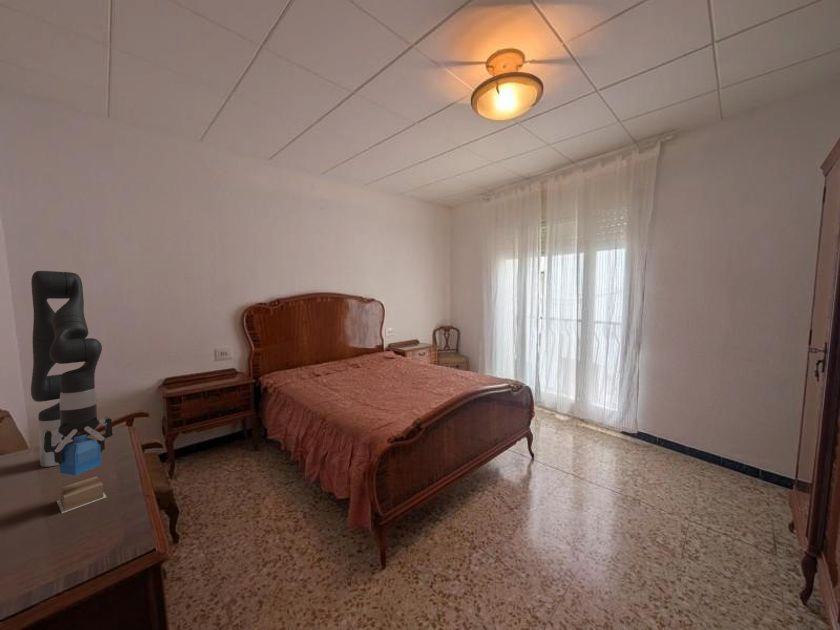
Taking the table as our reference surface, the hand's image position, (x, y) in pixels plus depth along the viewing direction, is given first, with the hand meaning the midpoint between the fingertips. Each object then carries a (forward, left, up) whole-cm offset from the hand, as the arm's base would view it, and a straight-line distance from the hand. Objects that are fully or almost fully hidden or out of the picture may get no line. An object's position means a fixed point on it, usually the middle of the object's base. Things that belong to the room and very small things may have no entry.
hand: (80, 457), depth 96 cm
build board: (0, 0, -14) cm, 14 cm away
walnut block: (0, 0, -13) cm, 13 cm away
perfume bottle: (0, 0, -4) cm, 4 cm away
